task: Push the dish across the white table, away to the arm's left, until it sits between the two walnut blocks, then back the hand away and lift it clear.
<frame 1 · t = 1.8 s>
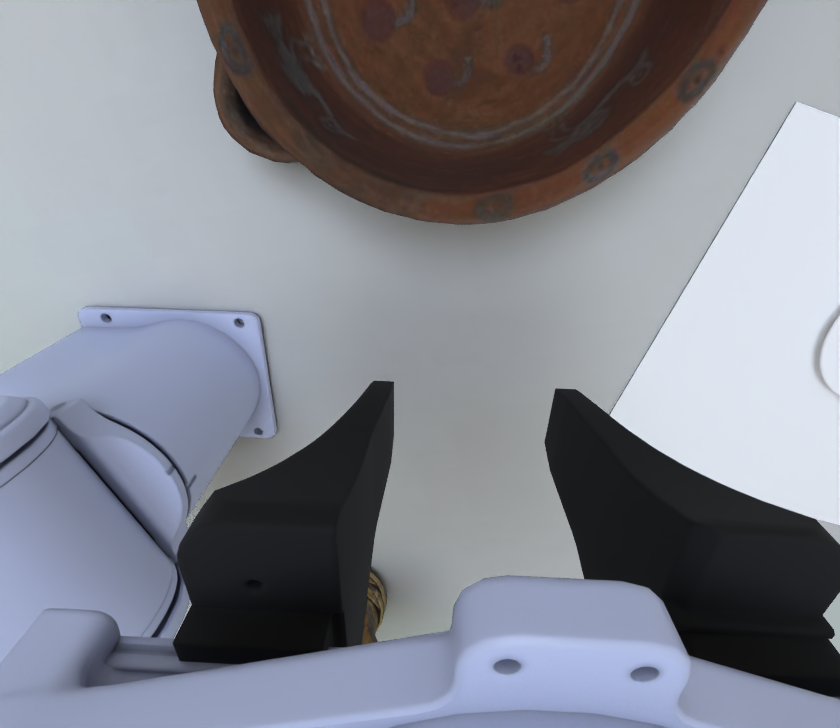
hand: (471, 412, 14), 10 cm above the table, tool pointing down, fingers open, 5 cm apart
wooden mug: (354, 581, 34), on the table
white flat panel: (830, 363, 24), on the table
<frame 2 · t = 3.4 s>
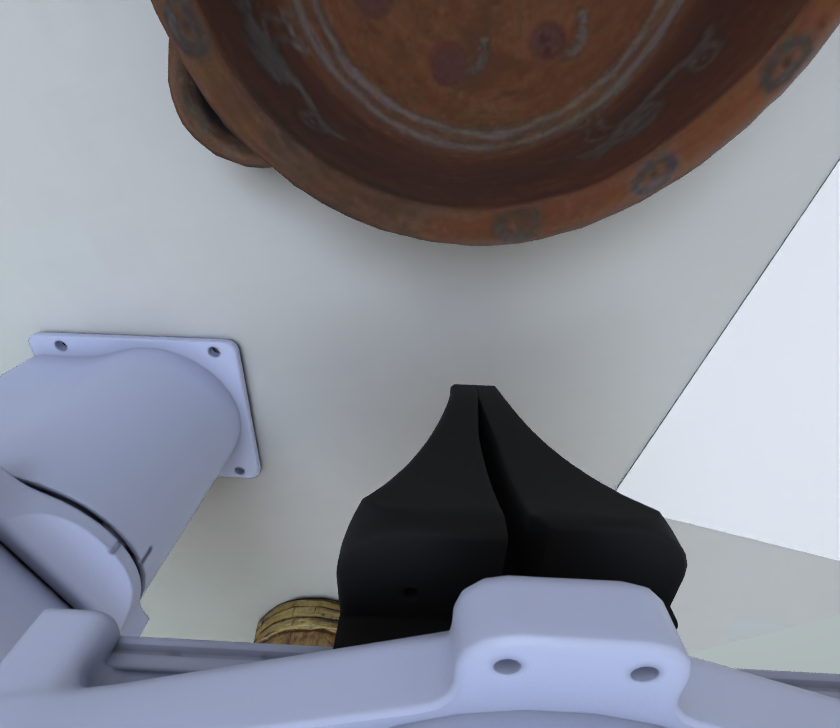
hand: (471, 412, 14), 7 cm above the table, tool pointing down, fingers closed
wooden mug: (349, 626, 31), on the table
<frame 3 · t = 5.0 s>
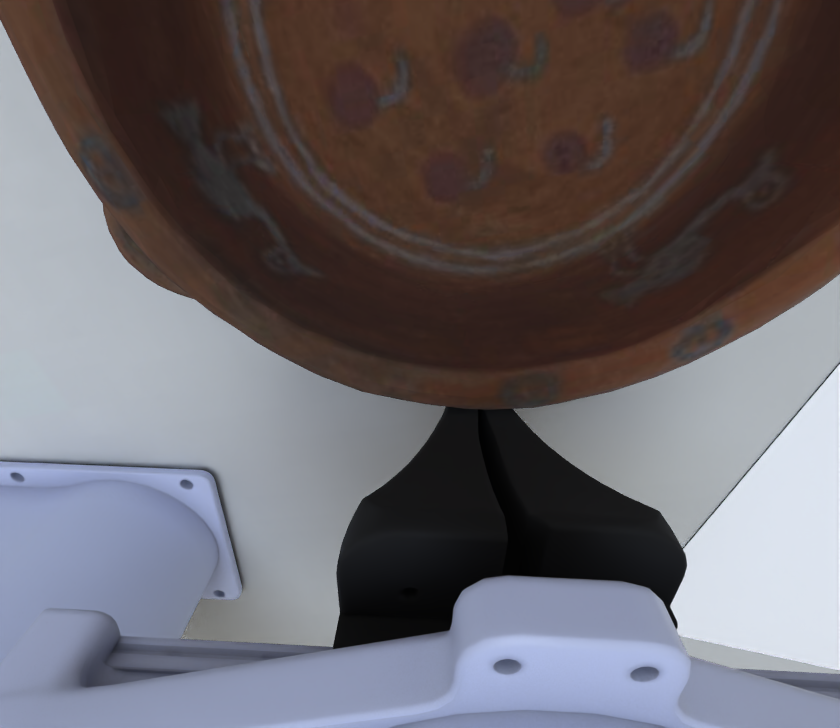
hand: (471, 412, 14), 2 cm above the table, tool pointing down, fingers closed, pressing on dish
dish: (496, 2, 11), on the table, touching gripper
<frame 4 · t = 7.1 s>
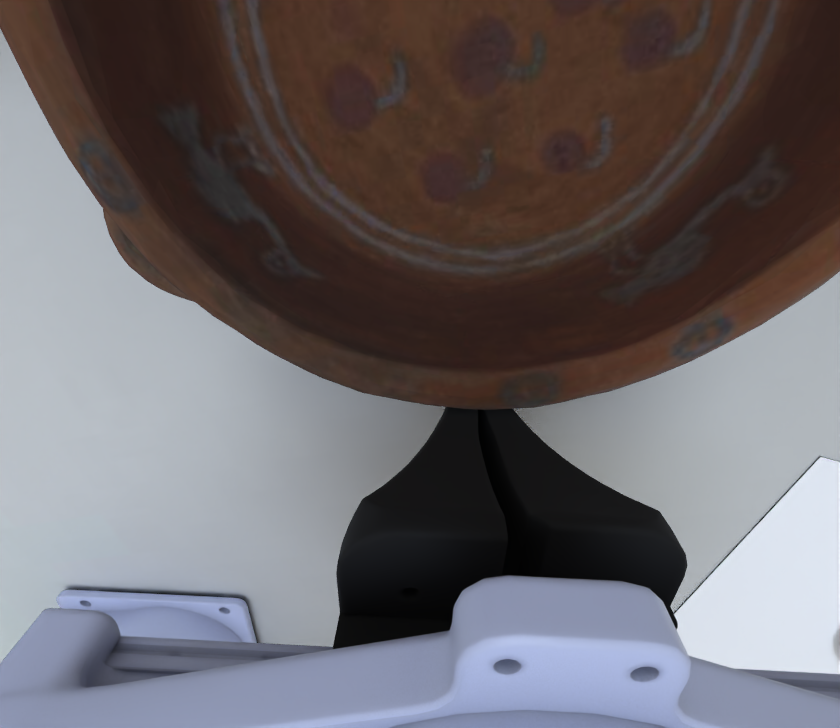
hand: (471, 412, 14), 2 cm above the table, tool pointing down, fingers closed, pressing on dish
dish: (493, 2, 11), on the table, touching gripper
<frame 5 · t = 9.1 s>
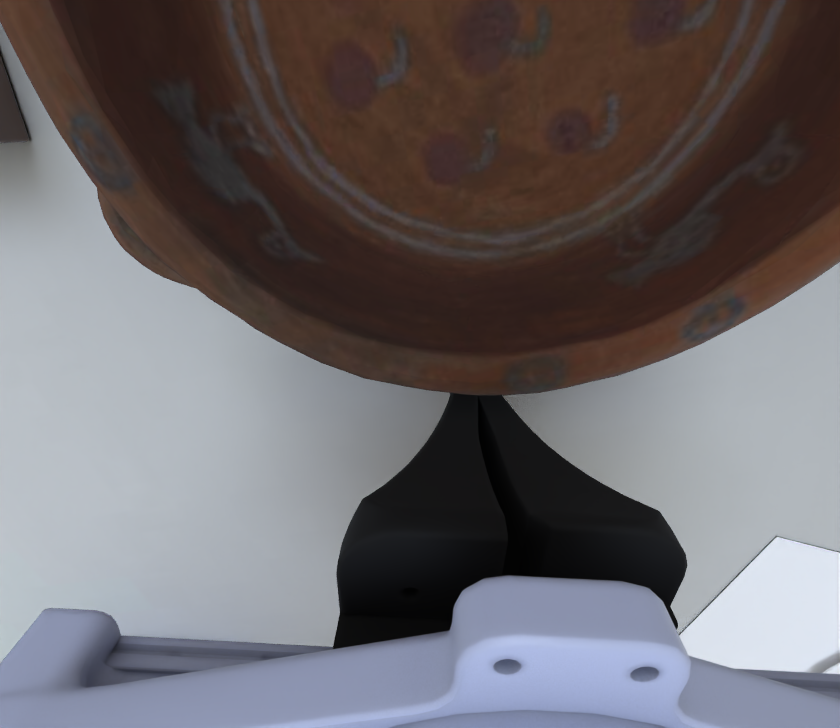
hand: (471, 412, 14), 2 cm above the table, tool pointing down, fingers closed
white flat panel: (814, 691, 25), on the table
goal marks: (498, 49, 11), on the table
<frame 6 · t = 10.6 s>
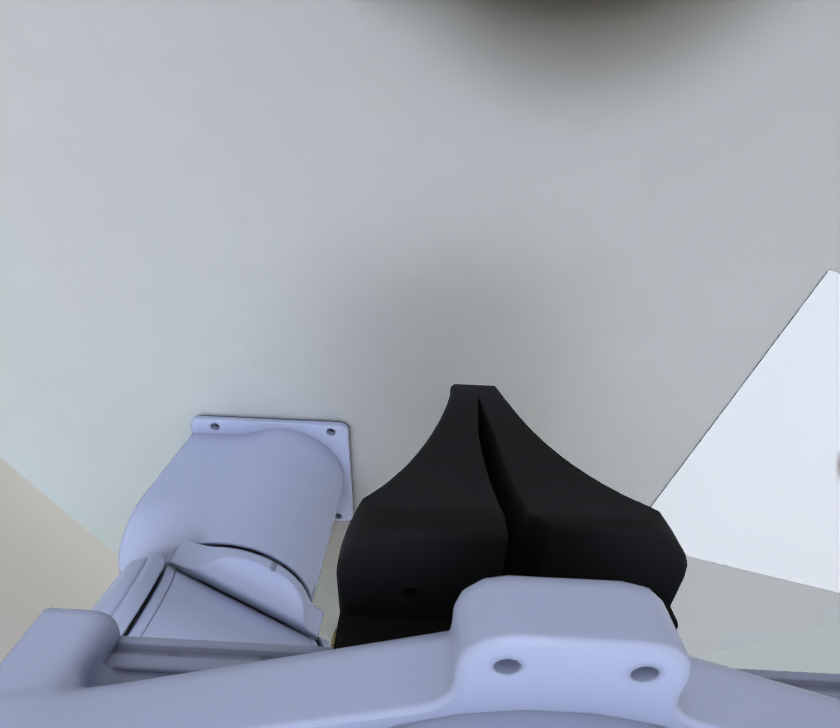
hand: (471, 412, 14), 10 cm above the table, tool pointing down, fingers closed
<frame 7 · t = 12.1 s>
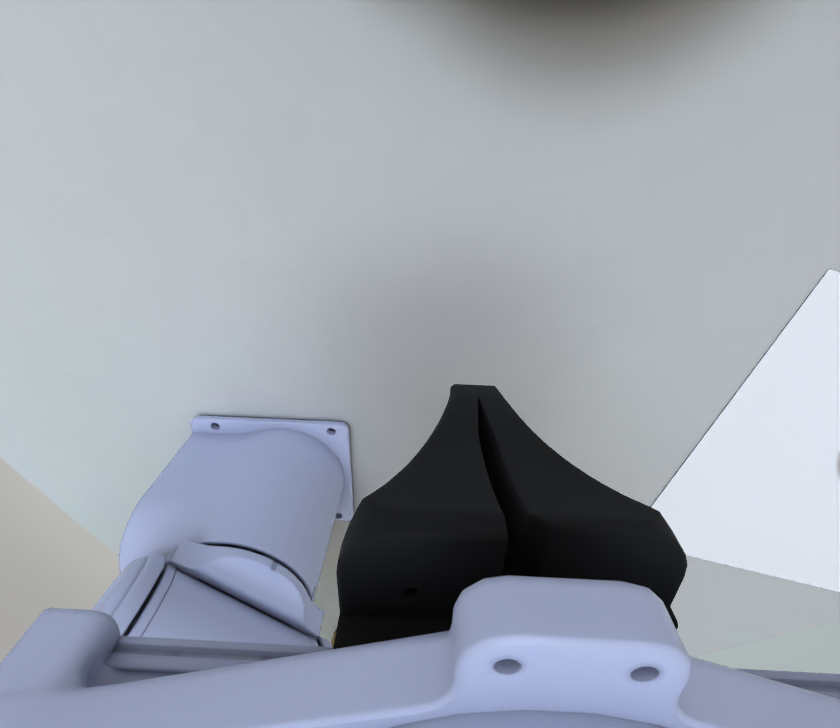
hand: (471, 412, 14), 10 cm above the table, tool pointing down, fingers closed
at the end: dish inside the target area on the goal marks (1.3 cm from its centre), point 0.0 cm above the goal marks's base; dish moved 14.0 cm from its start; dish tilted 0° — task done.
